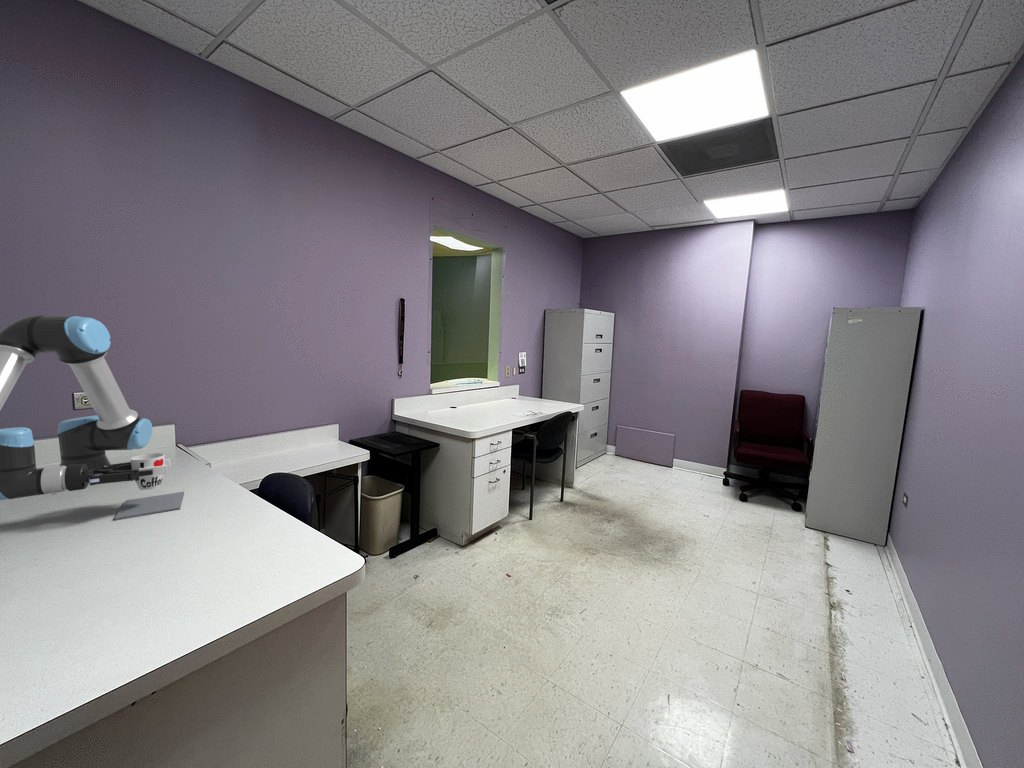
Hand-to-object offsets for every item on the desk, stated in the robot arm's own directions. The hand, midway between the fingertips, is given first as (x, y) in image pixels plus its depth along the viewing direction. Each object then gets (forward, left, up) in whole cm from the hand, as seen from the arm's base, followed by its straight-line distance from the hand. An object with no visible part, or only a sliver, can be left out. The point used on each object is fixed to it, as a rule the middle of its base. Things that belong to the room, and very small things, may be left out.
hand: (168, 466), depth 133 cm
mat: (0, -5, -12) cm, 13 cm away
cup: (0, -5, -6) cm, 8 cm away
